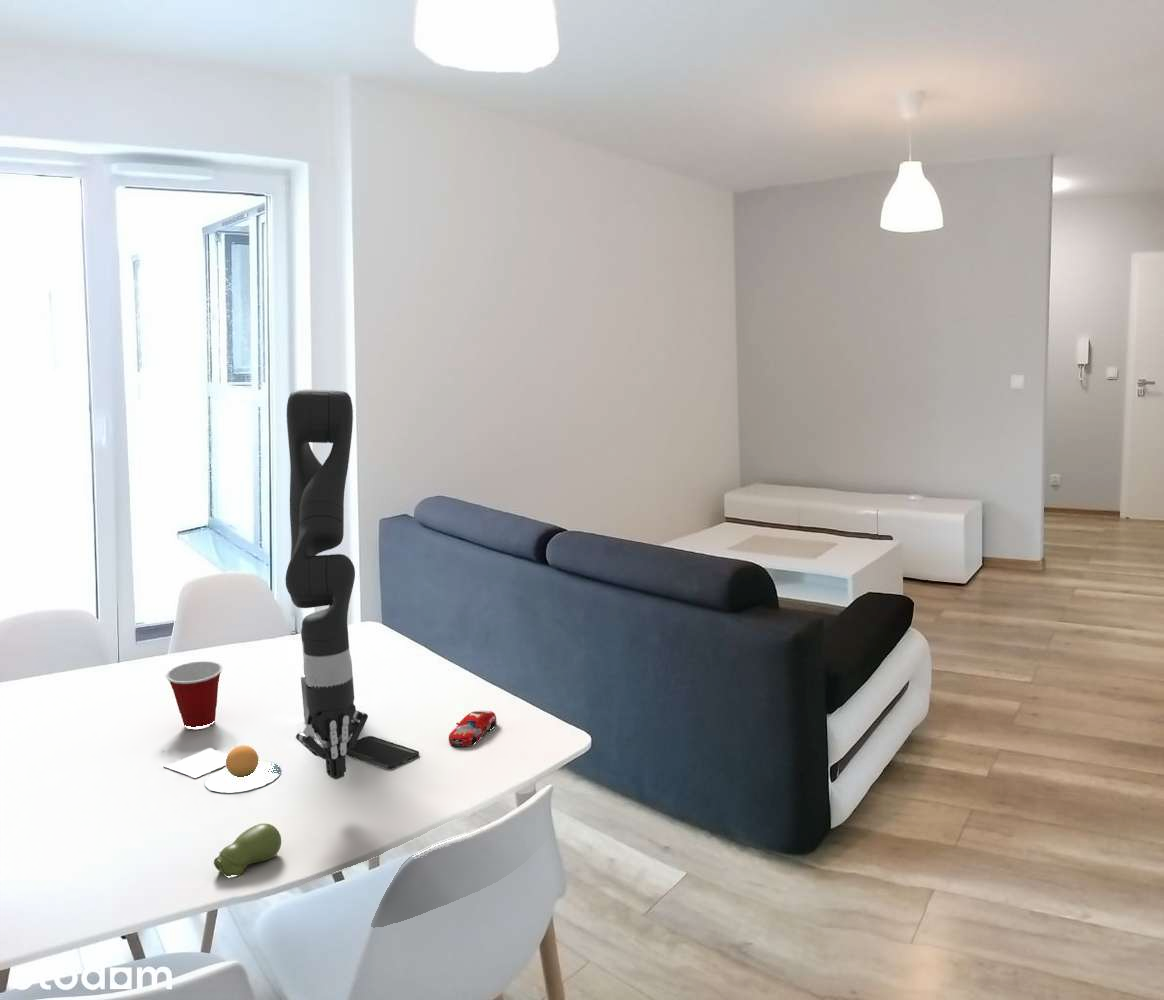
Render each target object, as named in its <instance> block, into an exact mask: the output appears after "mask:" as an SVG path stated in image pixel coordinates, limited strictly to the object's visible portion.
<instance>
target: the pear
mask: <svg viewBox="0 0 1164 1000" xmlns="http://www.w3.org/2000/svg"><path fill="white" fill-rule="evenodd" d="M281 847H282V837H281V833H280V831H279V830H278V829H277V827H275V825H273V824H270V823H258V824H256V825H254V826H252V827H248V828H247V829H246V830H245V831H243V832H242V833H240V834H239V836H237V837H236V839H235V840H234V841H233V842H232V843H231V844H229V845H227V846H225V847H224V848H222V849H221V851H220V852H219V855H218V856H216V857H215V858H214V860H213V866H214V867H215V868H216V869H217V870H219V871H221V872H222V873H223V874H225V875H226V876H231V875H238V876H240V875H241V874H242V873H243V872H244V870H245V869H246V867H247V866H248V865H250V864H253V863H259V862H265V861H269V860H271V859H272V858H274V857H275V856H276V855H277V854H278V853H279V851H280V849H281ZM219 871H218V872H219ZM221 872H220V873H221ZM222 873H221V874H222ZM223 874H222V875H223ZM239 874H240V875H239ZM225 875H224V876H225ZM226 876H225V877H226Z"/></svg>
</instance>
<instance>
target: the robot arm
mask: <svg viewBox="0 0 1164 1000" xmlns="http://www.w3.org/2000/svg"><path fill="white" fill-rule="evenodd" d="M353 409H354V408H353V402H352V398H351V396H350V394H349V393H348V392H346V391H341V390H332V389H310V388H305V389H303V388H301V389H295V390H292V392H291V393H290V394H289V396H288V399H287V403H286V425H287V426H286V427H287V437H288V438H287V439H288V449H289V450H288V451H289V461H290V476H289V477H290V481H289V482H290V483H289V520H290V522H289V523H290V537H291V540H290V541H291V543H290V544H291V545H290V548H291V550H290V560H289V563H288V566H287V569H286V573H285V580H284V581H285V587H286V590H287V592H288V593H289V596H290V598H291V602H292V604H293V605H294V606H295V607H296V608H299V609H310V608H311V609H312V608H317V607H325V606H326V607H327V606H328V607H327V608H325V609H322V610H319V611H316V612H312V613H309V614H308V615H306V616H305V617H304V618H302V622H301V629H300V630H301V631H300V635H301V636H300V637H301V646H302V647H301V648H302V656H303V675H302V676H301V678H300V685H301V697H302V706H303V719H304V722H306V723H307V726H306V727H305V728H304V730H303V731H302V732H297V734H296V735H295V738H296V740H297V741H298V742H299V743H301V745H303V746H304V747H305V748H306V749H307V750H308V751H309V752H310V753H312V755H314V756H315V757H319V758H321V759H323V760H325V769H326V774H327V776H329V778H331V779H333V780H336V781H337V780H339V779H342V777H345V773H346V772H347V766H346V765H347V764H346V763H347V762H346V761H347V760H346V755H345V754H346V752H347V750H348V749H349V748H353V747H354V746H355V744H356V742H357V740H358V739H360V738H359V737H360V735H361V734H362V731H363V729H364V727H365V725H366V722H367V720H368V718H369V716H368V714H367V713H365V712H362V711H359V710H357V709H356V708H357V707H356V705H355V704H354V703H355V689H354V686H355V685H354V675H353V663H352V661H353V660H352V656H351V652H350V640H349V639H350V638H349V627H348V626H349V625H348V615H349V606H350V601H351V596H352V592H353V588H354V584H355V578H356V569H355V566H354V563H353V561H352V560H351V559H350V557H348V556H347V555H345V554H340V553H338V554H337V553H335V554H333V553H332V554H321V555H319V554H320V553H323V552H325V551H329V550H332V549H335V548H337V547H339V546H340V545H341V543H342V542H343V539H344V534H345V532H344V531H345V530H344V529H345V527H344V524H345V523H344V518H345V517H344V515H345V511H344V508H345V501H344V500H345V491H346V483H347V481H346V480H347V475H348V469H349V463H350V454H351V447H352V446H351V445H352V438H353V437H352V436H353V422H354V412H353V411H354V410H353ZM310 443H316V444H317V443H318V444H320V443H321V444H328V443H329V444H332V445H331V449H330V452H329V453H328V454H329V455H328V456H327V458H326V459H325V461H324V463H323V464H322V463H321V462H320V461H319V460H318V458H317V456H315V453H314V452H313V450H312V447H311V445H310ZM315 734H316V735H317V736H318V740H319V742H320V743H318V742H317V741H316V739H317V737H316V735H315ZM320 744H321V745H320Z"/></svg>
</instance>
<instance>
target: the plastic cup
mask: <svg viewBox="0 0 1164 1000" xmlns="http://www.w3.org/2000/svg"><path fill="white" fill-rule="evenodd" d="M222 671H223V666H222V665H221V663H218V662H215V661H208V660H207V661H206V660H202V661H200V660H199V661H191V662H187V663H183V664H179V665H177V666H174V667H173V668H171V669H170V670H168V671H167V672H166V674H165V677H166V679H167V680H168V683H169V684H170V687H171V689H172V691H173V694H174V698H175V701H176V704H177V708H178V711H179V713H180V716H181V719H182V723H184V724H183V725H184V726H185V725H186V726H191V727H196V726H203V725H207V724H210V723H212V722H213V721H215V720H216V716H217V715H216V714H217V713H216V712H217V706H218V705H217V704H218V693H219V692H218V691H219V682H220V677H221V673H222Z"/></svg>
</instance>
